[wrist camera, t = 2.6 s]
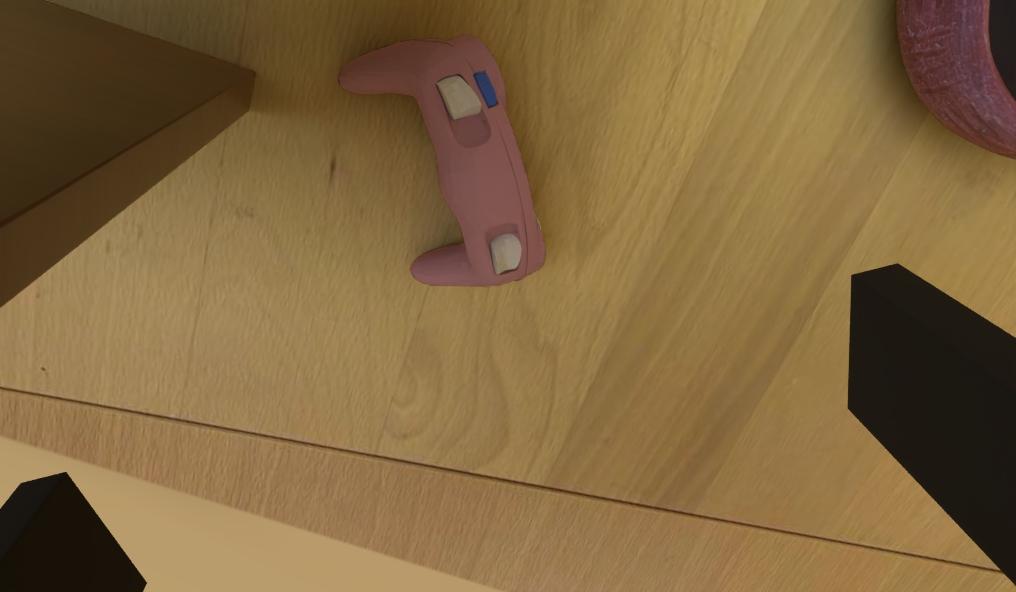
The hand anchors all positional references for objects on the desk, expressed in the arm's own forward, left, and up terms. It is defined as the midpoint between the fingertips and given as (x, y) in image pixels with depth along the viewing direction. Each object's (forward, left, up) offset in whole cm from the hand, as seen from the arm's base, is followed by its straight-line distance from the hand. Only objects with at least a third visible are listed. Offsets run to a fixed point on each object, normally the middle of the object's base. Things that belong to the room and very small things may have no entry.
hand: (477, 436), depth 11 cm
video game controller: (0, 0, -19) cm, 19 cm away
